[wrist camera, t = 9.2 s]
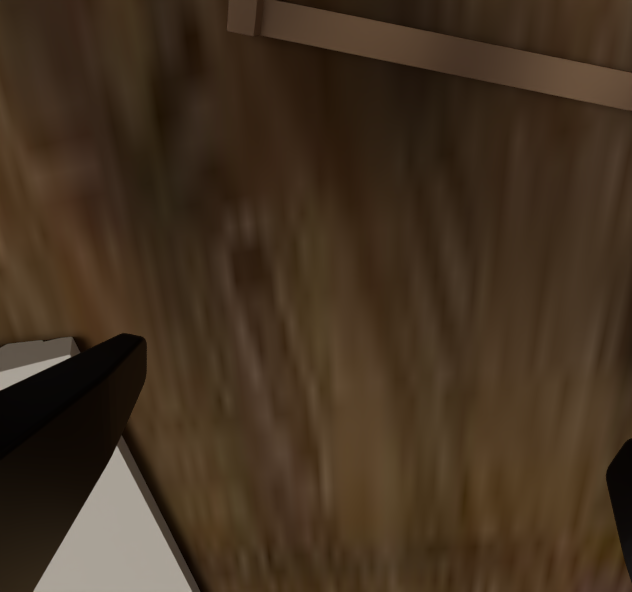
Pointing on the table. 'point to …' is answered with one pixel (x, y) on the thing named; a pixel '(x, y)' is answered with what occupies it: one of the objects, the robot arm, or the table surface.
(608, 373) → the table surface
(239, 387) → the table surface
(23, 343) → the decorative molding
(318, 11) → the wooden tray
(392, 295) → the table surface
